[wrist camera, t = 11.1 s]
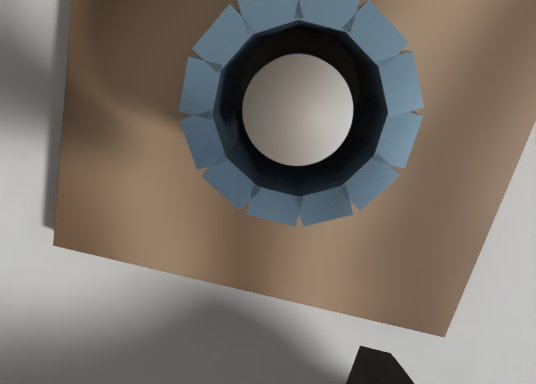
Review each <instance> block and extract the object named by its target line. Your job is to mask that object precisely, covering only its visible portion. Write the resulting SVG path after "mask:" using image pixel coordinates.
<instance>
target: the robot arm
mask: <svg viewBox="0 0 536 384" xmlns="http://www.w3.org/2000/svg"><path fill="white" fill-rule="evenodd" d="M346 384H414V383H413V381H412V380H411V379H410V377H409V376H408V375H407V373H406V372H405V371H404V369H403V368H402V367H401V366H400V364H399V363H398V362H397V360H396V359H395V358H394V357H393V356H392V354H391V353H387V352H383V351H379V350H375V349H371V348H367V347H363V346H360V347H359V350H358V353H357V356H356V358H355V361H354V364H353V366H352V369H351V372H350V375H349V377H348V380H347V383H346Z"/></svg>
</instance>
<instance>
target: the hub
mask: <svg viewBox="0 0 536 384" xmlns="http://www.w3.org/2000/svg"><path fill="white" fill-rule="evenodd" d="M237 1H238V4H239V7H240V10H239V9H237V8H236V7H234V6H232V5H231V4H229V5H228V6H227V8H226V9H225V10H224V11H223V12H222V14H221V15H220V16H219V17H218V18H217V20H216V21H215V22H214V23H213V24H212V25H211V27H210V28H209V29H208V30H207V31H206V33H205V34H204V35H203V36H202V37H201V38H200V40H199V41H198V42H197V43H196V44H195V46H194V47H193V48H192V49H193V50H194V51H195V52H196V53H197V54H198V56H188V61H187V67H186V73H185V78H184V84H183V90H182V95H181V101H180V107H179V112H183V113H187V114H188V115H186V116H184V117H183V118H181V119H180V123H181V126H182V128H183V131H184V134H185V137H186V140H187V143H188V146H189V148H190V151H191V154H192V157H193V160H194V163H195V166H196V168H197V170H198V169H202V168H206V167H208V168H207V169H206V171H205V172H204V173H203V175H202V176H201V177H203V178H204V179H205V180H206V181H207V182H208V183H209V184H210V185H211V186H213V187H214V188H215V189H216V190H217V191H218V192H219V193H220V194H221V195H222V196H224V197H225V198H226V199H227V200H228V201H229V202H230V203H231V204H232V205H234V206H235V207H236V208H237V209H238V210H239V211H240V210H241V209H242V208H243V207H244V206H245V205H246V204H247V203H248V202H249V205H248V209H247V213H246V215H250V216H254V217H258V218H262V219H266V220H270V221H274V222H278V223H282V224H286V225H290V226H294V227H296V223H297V220H298V216H299V214H300V218H301V221H302V225H303V227H304V226H308V225H312V224H317V223H321V222H325V221H329V220H333V219H337V218H341V217H345V216H349V215H353V211H352V207H351V203H350V201H351V202H352V203H353V204H354V205H355V206H356V207H357V208H358V209H359V210H360V211H361V210H362V209H363V208H364V207H365V206H366V205H367V204H369V203H370V202H371V201H372V200H373V199H374V198H375V197H376V196H377V195H379V194H380V193H381V192H382V191H383V190H384V189H385V188H386V187H388V186H389V185H390V184H391V183H392V182H393V181H394V180H395V179H397V178H398V177H399V176H400V174H399V173H398V172H397V171H396V169H395V168H394V167H393V166H397V167H401V168H405V166H406V164H407V161H408V158H409V155H410V152H411V149H412V147H413V144H414V141H415V138H416V135H417V132H418V130H419V127H420V124H421V121H422V118H423V116H422V115H421V114H419V113H417V112H415V111H413V110H417V109H421V108H424V105H423V100H422V95H421V89H420V84H419V79H418V73H417V68H416V63H415V58H414V52H413V51H406V50H403V49H404V48H405V47H406V46H407V45H408V44H409V42H408V41H407V40H406V39H405V38H404V37H403V36H402V34H401V33H400V32H399V31H398V30H397V29H396V28H395V27H394V26H393V25H392V24H391V23H390V21H389V20H388V19H387V18H386V17H385V16H384V15H383V14H382V13H381V12H380V11H379V10H378V8H377V7H376V6H375V5H374V4H373V3H372V2H371V1H370V0H367V1H366V2H364V3H363V4H361V5H360V6H358V5H359V1H360V0H237ZM295 29H303V30H307V31H311V32H315V33H319V34H323V35H327V36H331V37H332V39H333V40H334V41H335V42H336V43H337V44H338V45H339V46H340V47H341V48H342V49H343V50H344V51H345V52H346V53H347V54H348V55H349V56H350V57H351V58H352V59H353V62H354V66H355V70H356V75H357V79H358V84H359V88H360V95H359V98H358V101H357V105H356V108H355V111H354V114H353V118H352V123H351V126H350V129H349V132H348V134H347V136H346V138H345V139H344V141H343V142H342V144H341V145H340V146H339V147H338V148H337V150H335V151H334V152H333V153H332V154H331V155H329V156H328V157H326V158H325V159H323V160H321V161H319V162H316V163H313V164H309V165H302V166H291V165H285V164H282V163H278V162H276V161H274V160H271V159H270V158H268V157H267V156H265V155H264V154H263V153H261V152H260V151H259V150H258V149H257V148H256V147H255V145H254V144H253V143H252V141H251V140H250V138H249V136H248V134H247V132H246V129H245V126H244V122H243V114H242V110H243V106H242V102H241V99H240V96H239V91H240V87H241V82H242V77H243V73H244V68H245V63H246V62H247V61H248V59H249V58H250V57H251V56H252V55H253V54H254V53H255V52H256V51H257V49H258V48H259V47H260V46H261V45H262V44H263V43H264V42H265V41H266V39H267V38H270V37H273V36H276V35H279V34H283V33H286V32H289V31H292V30H295ZM392 165H393V166H392Z"/></svg>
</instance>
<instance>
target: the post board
mask: <svg viewBox="0 0 536 384" xmlns="http://www.w3.org/2000/svg"><path fill="white" fill-rule="evenodd" d="M366 1H367V0H360V1H359V5H358V6H360V5H361V4H363V3H364V2H366ZM370 1H371V2H372V3H373V4H374V5H375V6H376V7H377V8H378V10H379V11H380V12H381V13H382V14H383V15H384V16H385V17H386V18H387V19H388V20H389V21H390V23H391V24H392V25H393V26H394V27H395V28H396V29H397V30H398V31H399V32H400V33H401V34H402V36H403V37H404V38H405V39H406V40H407V41H408V42H409V44H408V45H407V46H406V47H405V48H404V49H403V50H406V51H413V52H414V58H415V63H416V68H417V73H418V79H419V84H420V89H421V95H422V100H423V105H424V108H421V109H417V110H413V111H415V112H417V113H419V114H421V115H422V116H423V118H422V121H421V124H420V127H419V130H418V132H417V135H416V138H415V141H414V144H413V147H412V149H411V152H410V155H409V158H408V161H407V164H406V166H405V168H401V167H397V166H393V165H392V166H393V167H394V168H395V169H396V171H397V172H398V173H399V174H400V176H399V177H398V178H397V179H395V180H394V181H393V182H392V183H391V184H390V185H389V186H388V187H386V188H385V189H384V190H383V191H382V192H381V193H380V194H379V195H377V196H376V197H375V198H374V199H373V200H372V201H371V202H370V203H369V204H367V205H366V206H365V207H364V208H363V209H362V210H361V211H360V210H359V209H358V208H357V207H356V206H355V205H354V204H353V203H352V202H351V201H350V203H351V207H352V211H353V215H349V216H345V217H341V218H337V219H333V220H329V221H325V222H321V223H317V224H312V225H308V226H304V227H303V225H302V221H301V218H300V214H299V216H298V220H297V223H296V227H294V226H290V225H286V224H282V223H278V222H274V221H270V220H266V219H262V218H258V217H254V216H250V215H246V213H247V209H248V205H249V202H248V203H247V204H246V205H245V206H244V207H243V208H242V209H241V210H240V211H239V210H238V209H237V208H236V207H235V206H234V205H232V204H231V203H230V202H229V201H228V200H227V199H226V198H225V197H224V196H222V195H221V194H220V193H219V192H218V191H217V190H216V189H215V188H214V187H213V186H211V185H210V184H209V183H208V182H207V181H206V180H205V179H204V178H203V177H201V176H202V175H203V173H204V172H205V171H206V169H207V168H208V167H206V168H202V169H198V170H197V168H196V166H195V163H194V160H193V157H192V154H191V151H190V148H189V146H188V143H187V140H186V137H185V134H184V131H183V128H182V126H181V123H180V119H181V118H183V117H184V116H186V115H188V114H187V113H183V112H179V107H180V101H181V95H182V90H183V84H184V78H185V73H186V67H187V61H188V56H198V54H197V53H196V52H195V51H194V50H193V49H192V48H193V47H194V46H195V44H196V43H197V42H198V41H199V40H200V38H201V37H202V36H203V35H204V34H205V33H206V31H207V30H208V29H209V28H210V27H211V25H212V24H213V23H214V22H215V21H216V20H217V18H218V17H219V16H220V15H221V14H222V12H223V11H224V10H225V9H226V8H227V6H228V5H229V4H231V5H232V6H234V7H236V8H237V9H239V10H240V7H239V4H238V1H237V0H72V9H71V22H70V35H69V48H68V61H67V74H66V87H65V99H64V112H63V125H62V138H61V151H60V164H59V177H58V190H57V203H56V216H55V229H54V242H53V246H58V247H62V248H66V249H70V250H75V251H79V252H83V253H87V254H92V255H96V256H100V257H105V258H109V259H113V260H117V261H122V262H126V263H130V264H134V265H139V266H143V267H147V268H151V269H156V270H160V271H164V272H168V273H173V274H177V275H181V276H185V277H190V278H194V279H198V280H202V281H207V282H211V283H215V284H219V285H224V286H228V287H232V288H237V289H241V290H245V291H249V292H254V293H258V294H262V295H266V296H271V297H275V298H279V299H283V300H288V301H292V302H296V303H300V304H305V305H309V306H313V307H317V308H322V309H326V310H330V311H334V312H339V313H343V314H347V315H351V316H356V317H360V318H364V319H369V320H373V321H377V322H381V323H386V324H390V325H394V326H398V327H403V328H407V329H411V330H415V331H420V332H424V333H428V334H432V335H437V336H441V337H445V335H446V332H447V330H448V327H449V325H450V323H451V320H452V318H453V316H454V313H455V311H456V308H457V306H458V304H459V301H460V299H461V297H462V294H463V292H464V289H465V287H466V285H467V282H468V280H469V278H470V275H471V273H472V270H473V268H474V266H475V263H476V261H477V259H478V256H479V254H480V251H481V249H482V247H483V244H484V242H485V240H486V237H487V235H488V232H489V230H490V228H491V225H492V223H493V221H494V218H495V216H496V213H497V211H498V209H499V206H500V204H501V202H502V199H503V197H504V194H505V192H506V190H507V187H508V185H509V183H510V180H511V178H512V175H513V173H514V171H515V168H516V166H517V164H518V161H519V159H520V156H521V154H522V152H523V149H524V147H525V145H526V142H527V140H528V137H529V135H530V133H531V130H532V128H533V126H534V123H535V121H536V0H370ZM359 95H360V88H359V84H358V79H357V75H356V70H355V66H354V62H353V59H352V58H351V57H350V56H349V55H348V54H347V53H346V52H345V51H344V50H343V49H342V48H341V47H340V46H339V45H338V44H337V43H336V42H335V41H334V40H333V39H332V37H331V36H327V35H323V34H319V33H315V32H311V31H307V30H303V29H295V30H292V31H289V32H286V33H283V34H279V35H276V36H273V37H270V38H267V39H266V41H265V42H264V43H263V44H262V45H261V46H260V47H259V48H258V49H257V51H256V52H255V53H254V54H253V55H252V56H251V57H250V58H249V59H248V61H247V62H246V63H245V68H244V73H243V77H242V82H241V87H240V91H239V96H240V99H241V102H242V106H243V110H242V114H243V122H244V126H245V129H246V132H247V134H248V136H249V138H250V140H251V141H252V143H253V144H254V145H255V147H256V148H257V149H258V150H259V151H260V152H261V153H263V154H264V155H265V156H267V157H268V158H270V159H271V160H274V161H276V162H278V163H282V164H285V165H291V166H302V165H309V164H313V163H316V162H319V161H321V160H323V159H325V158H326V157H328V156H329V155H331V154H332V153H333V152H334V151H335V150H337V148H338V147H339V146H340V145H341V144H342V142H343V141H344V139H345V138H346V136H347V134H348V132H349V129H350V126H351V123H352V118H353V114H354V111H355V108H356V105H357V101H358V98H359Z"/></svg>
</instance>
